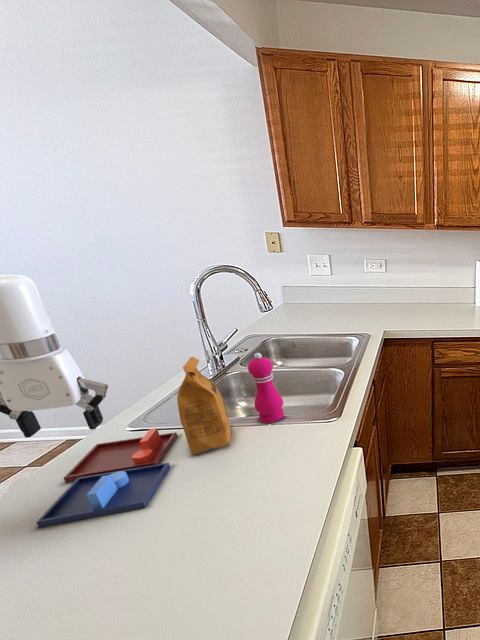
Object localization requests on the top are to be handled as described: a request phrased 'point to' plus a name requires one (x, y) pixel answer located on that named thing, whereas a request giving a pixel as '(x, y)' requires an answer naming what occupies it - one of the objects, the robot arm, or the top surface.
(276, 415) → the pepper mill
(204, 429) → the coffee package
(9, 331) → the robot arm
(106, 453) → the maroon tray
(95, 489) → the blue spoon
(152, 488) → the navy tray
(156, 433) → the coral spoon
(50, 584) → the top surface
